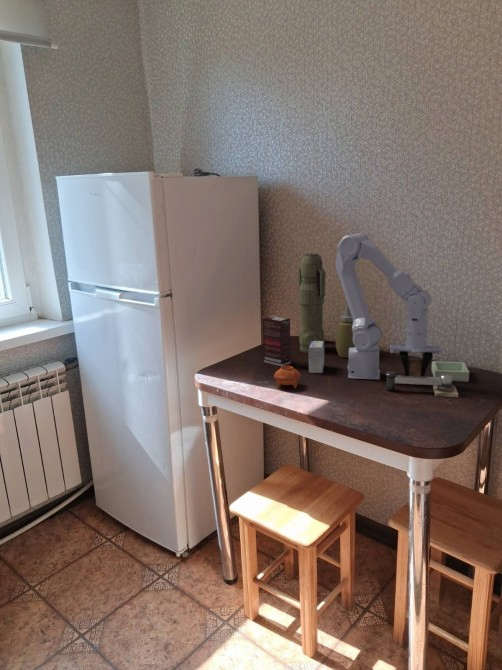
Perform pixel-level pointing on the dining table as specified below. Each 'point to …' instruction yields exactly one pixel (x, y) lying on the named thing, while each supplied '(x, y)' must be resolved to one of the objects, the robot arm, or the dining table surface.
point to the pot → (287, 376)
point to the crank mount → (445, 391)
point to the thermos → (311, 300)
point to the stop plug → (414, 367)
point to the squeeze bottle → (345, 334)
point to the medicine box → (316, 357)
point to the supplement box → (276, 340)
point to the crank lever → (417, 380)
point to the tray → (451, 370)
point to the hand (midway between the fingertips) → (414, 376)
